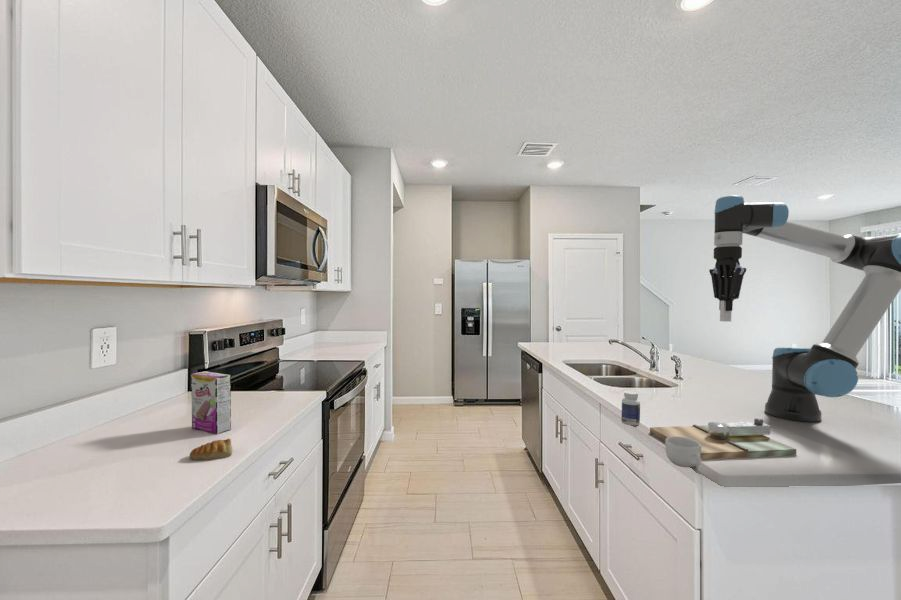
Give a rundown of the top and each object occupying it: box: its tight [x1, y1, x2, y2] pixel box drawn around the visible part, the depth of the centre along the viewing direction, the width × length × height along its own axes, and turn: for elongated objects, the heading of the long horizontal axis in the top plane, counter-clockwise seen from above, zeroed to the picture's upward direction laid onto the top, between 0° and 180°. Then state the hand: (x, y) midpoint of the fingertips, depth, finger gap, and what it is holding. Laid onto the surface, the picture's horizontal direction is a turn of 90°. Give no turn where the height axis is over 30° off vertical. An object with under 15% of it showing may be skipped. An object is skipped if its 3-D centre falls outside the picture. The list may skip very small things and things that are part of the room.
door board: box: [649, 424, 797, 460], centre depth 121 cm, size 28×20×2 cm
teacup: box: [664, 436, 702, 468], centre depth 106 cm, size 10×8×5 cm
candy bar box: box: [190, 370, 232, 435], centre depth 128 cm, size 11×5×16 cm, turn 65°
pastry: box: [189, 438, 233, 461], centre depth 109 cm, size 9×7×4 cm
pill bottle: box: [620, 390, 641, 426], centre depth 138 cm, size 5×5×10 cm
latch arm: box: [707, 418, 771, 437], centre depth 121 cm, size 16×5×4 cm, turn 96°
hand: (725, 321), depth 138 cm, fingers closed
